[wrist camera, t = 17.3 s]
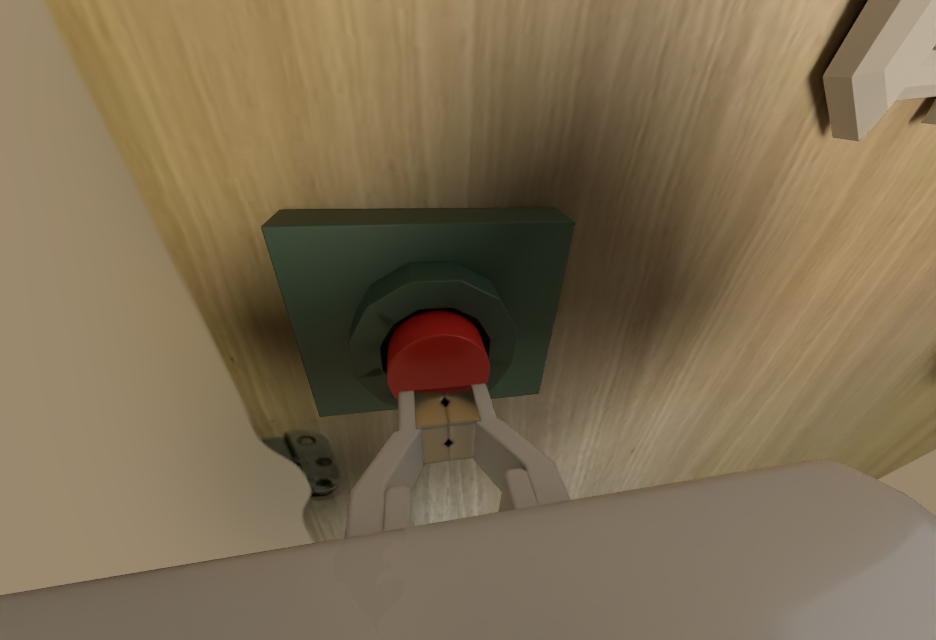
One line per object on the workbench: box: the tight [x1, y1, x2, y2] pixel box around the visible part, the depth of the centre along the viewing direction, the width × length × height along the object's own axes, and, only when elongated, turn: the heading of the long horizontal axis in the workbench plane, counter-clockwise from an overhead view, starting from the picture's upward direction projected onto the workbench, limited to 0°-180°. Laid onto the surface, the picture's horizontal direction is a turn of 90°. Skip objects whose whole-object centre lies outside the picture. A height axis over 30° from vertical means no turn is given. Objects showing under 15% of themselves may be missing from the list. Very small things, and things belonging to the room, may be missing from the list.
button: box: [387, 310, 490, 400], centre depth 14 cm, size 4×4×2 cm
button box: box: [261, 207, 575, 417], centre depth 16 cm, size 12×10×4 cm
